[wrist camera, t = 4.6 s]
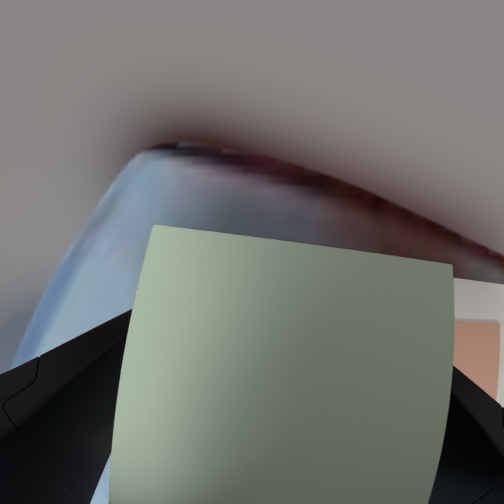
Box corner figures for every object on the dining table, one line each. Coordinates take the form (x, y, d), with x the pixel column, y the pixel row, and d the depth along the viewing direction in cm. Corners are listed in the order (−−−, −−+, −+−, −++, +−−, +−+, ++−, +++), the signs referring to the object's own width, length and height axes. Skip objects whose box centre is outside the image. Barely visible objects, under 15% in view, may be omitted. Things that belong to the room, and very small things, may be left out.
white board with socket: (486, 469, 11) (537, 482, 7) (149, 469, 12) (110, 504, 8) (501, 289, 15) (552, 264, 11) (185, 249, 16) (161, 203, 12)
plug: (312, 437, 12) (413, 542, 3) (202, 424, 12) (108, 520, 3) (326, 333, 14) (452, 264, 5) (218, 319, 14) (153, 224, 5)
